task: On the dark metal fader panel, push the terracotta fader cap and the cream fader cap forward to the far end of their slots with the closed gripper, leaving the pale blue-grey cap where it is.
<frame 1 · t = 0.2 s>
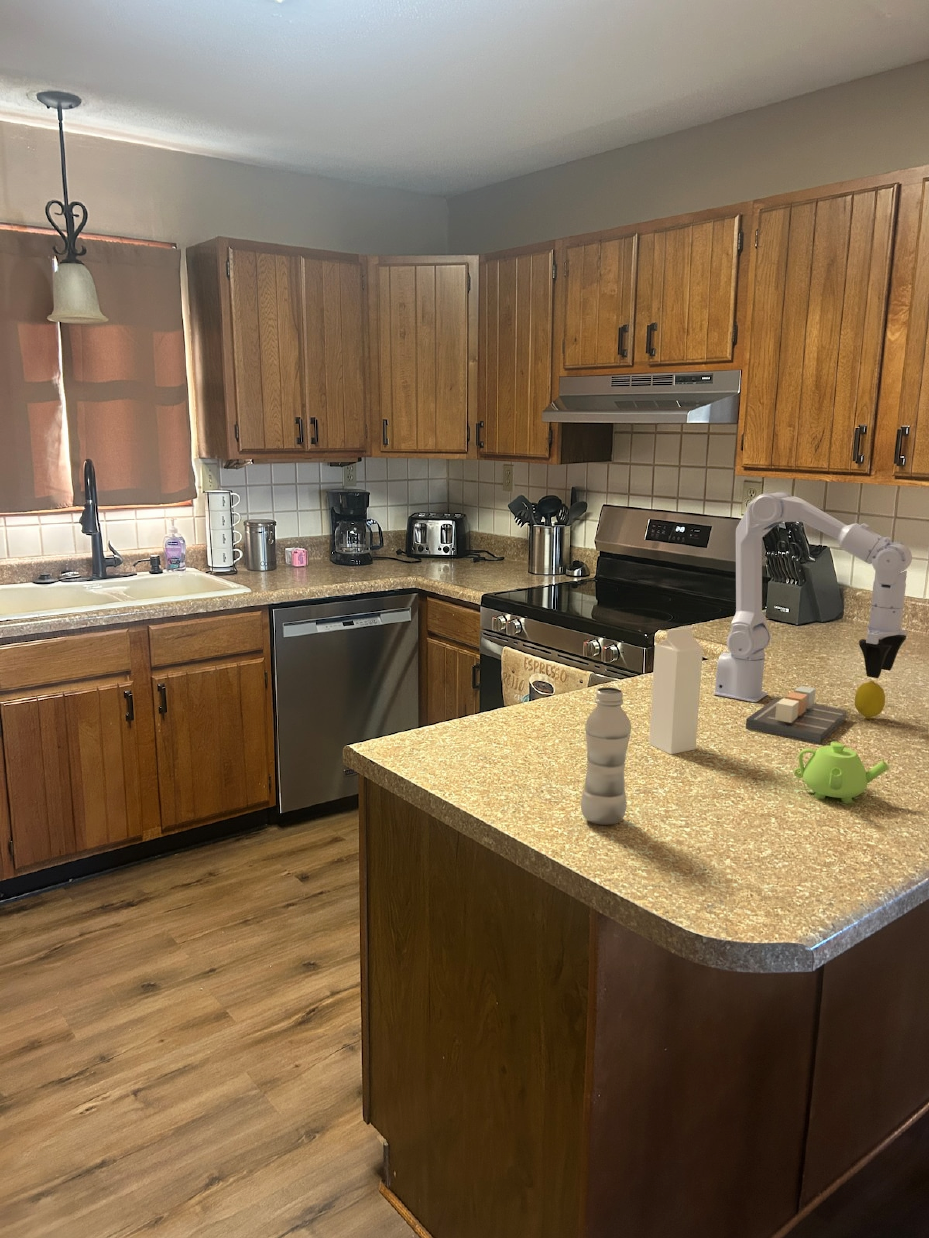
hand: (878, 673, 179), 10 cm above the counter, tool pointing down, fingers open, 7 cm apart
milk: (672, 747, 165), on the counter
lemon: (867, 720, 182), on the counter
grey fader: (804, 697, 182), point 4 cm above the counter, slide at 0.0 cm
terracotta fader: (795, 703, 178), point 4 cm above the counter, slide at 0.0 cm
panel: (796, 724, 178), on the counter
teapot: (838, 796, 144), on the counter
plastic bottle: (602, 822, 133), on the counter
cream fader: (787, 710, 173), point 4 cm above the counter, slide at 0.0 cm
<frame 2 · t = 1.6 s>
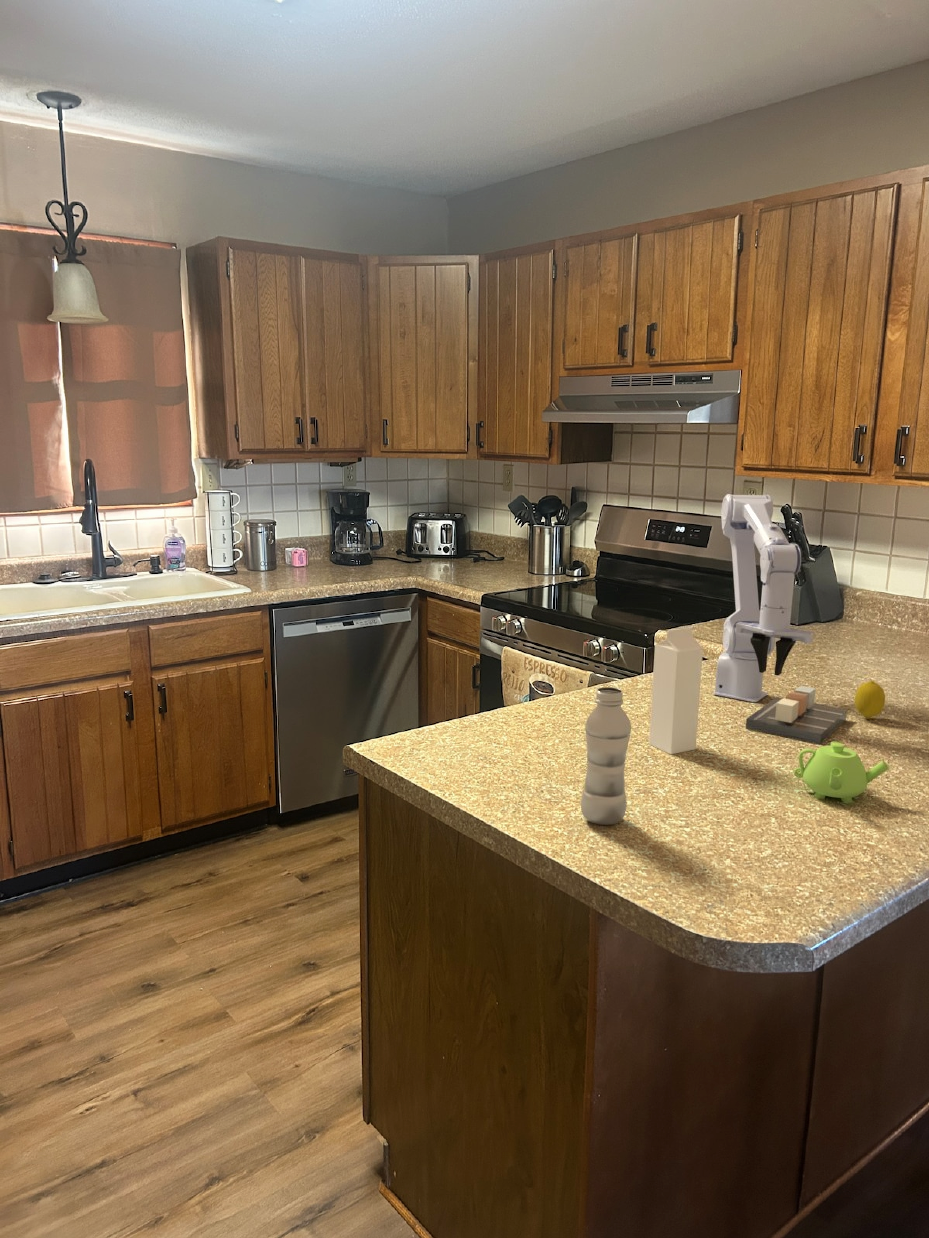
hand: (770, 673, 180), 9 cm above the counter, tool pointing down, fingers closed
nothing on the counter moved.
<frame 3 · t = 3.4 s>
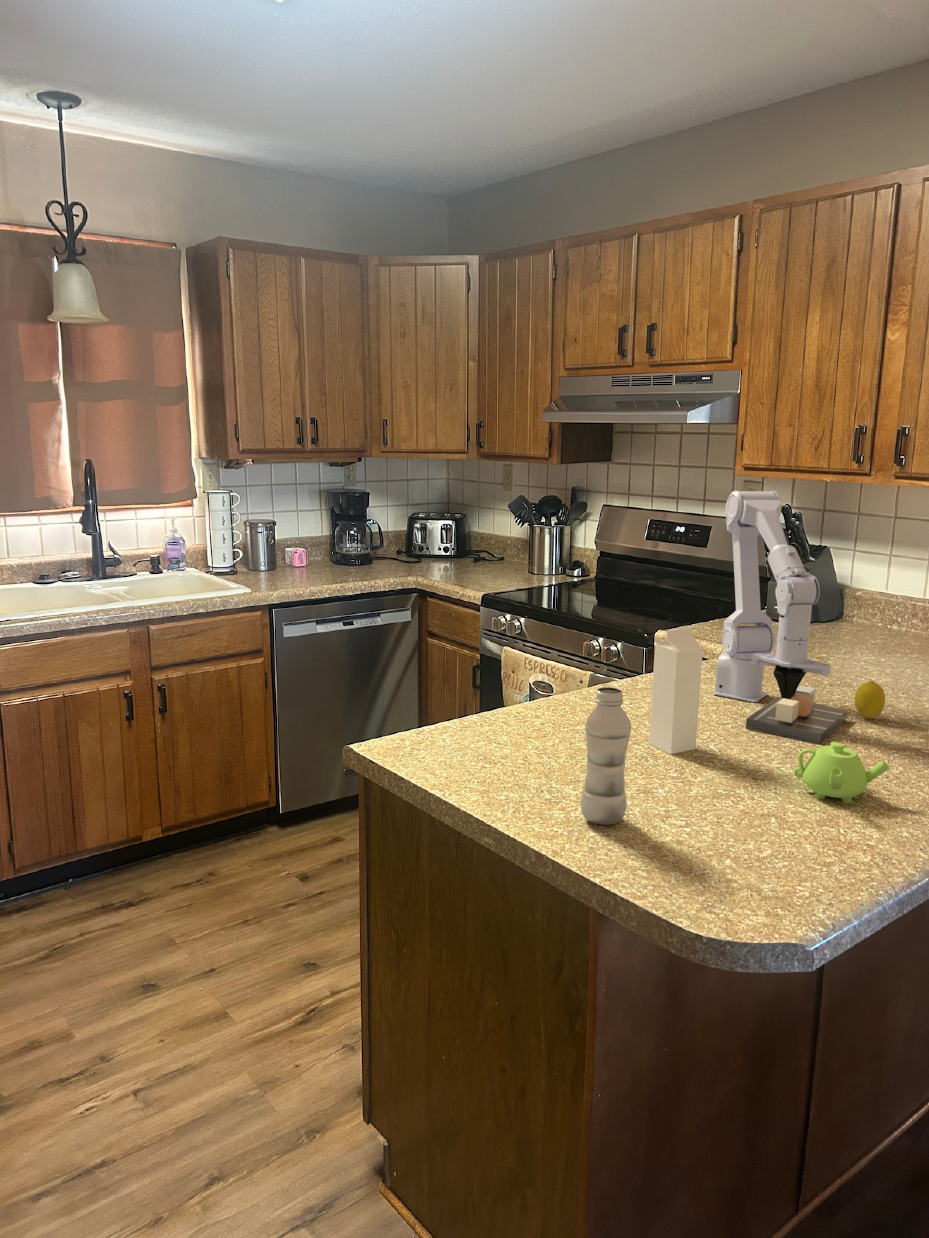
hand: (786, 704, 179), 4 cm above the counter, tool pointing down, fingers closed
terracotta fader: (801, 704, 177), point 4 cm above the counter, slide at 1.1 cm, touching gripper
everything else where it was.
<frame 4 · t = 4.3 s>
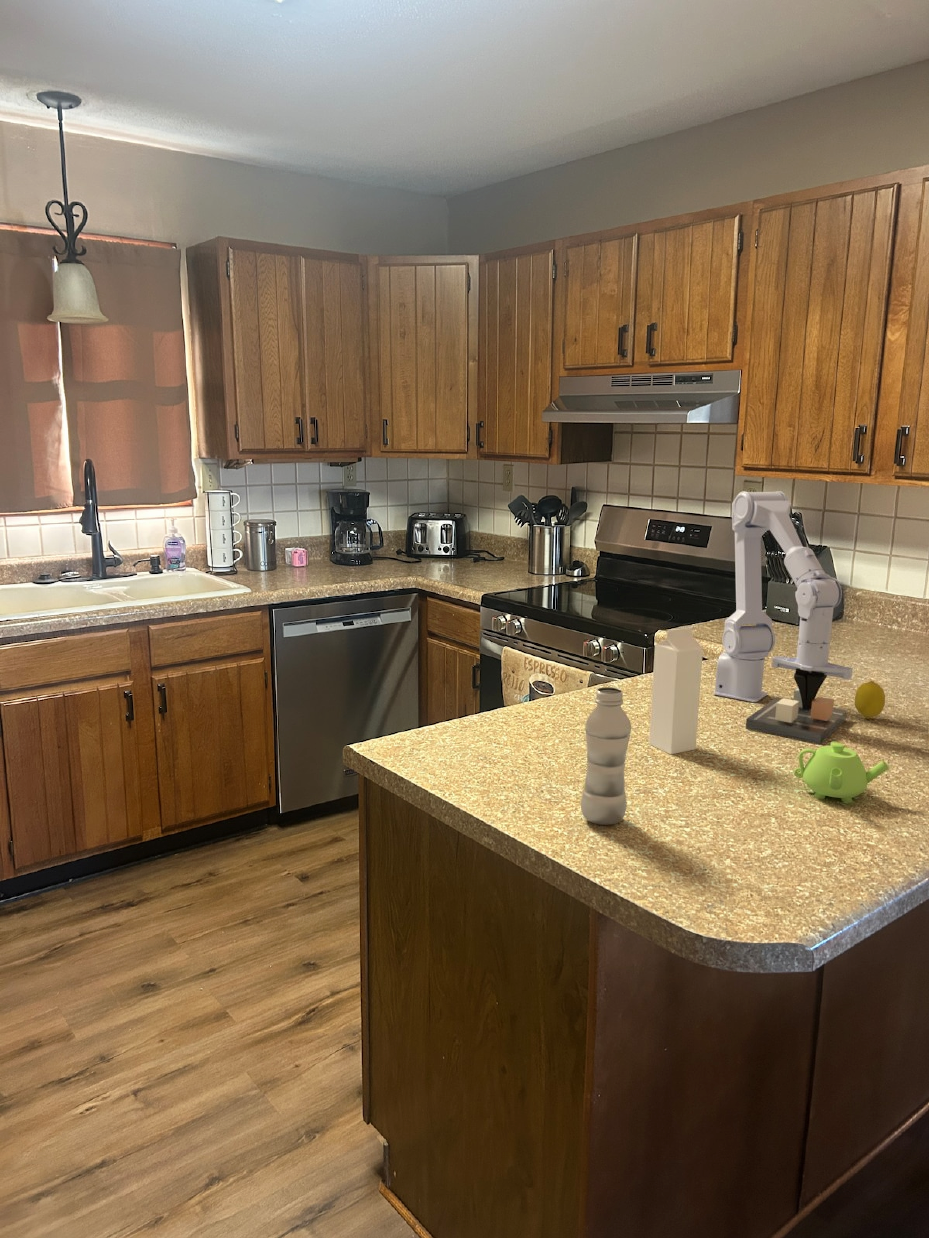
hand: (807, 708, 176), 4 cm above the counter, tool pointing down, fingers closed
terracotta fader: (822, 708, 175), point 4 cm above the counter, slide at 5.0 cm, touching gripper
everything else where it was.
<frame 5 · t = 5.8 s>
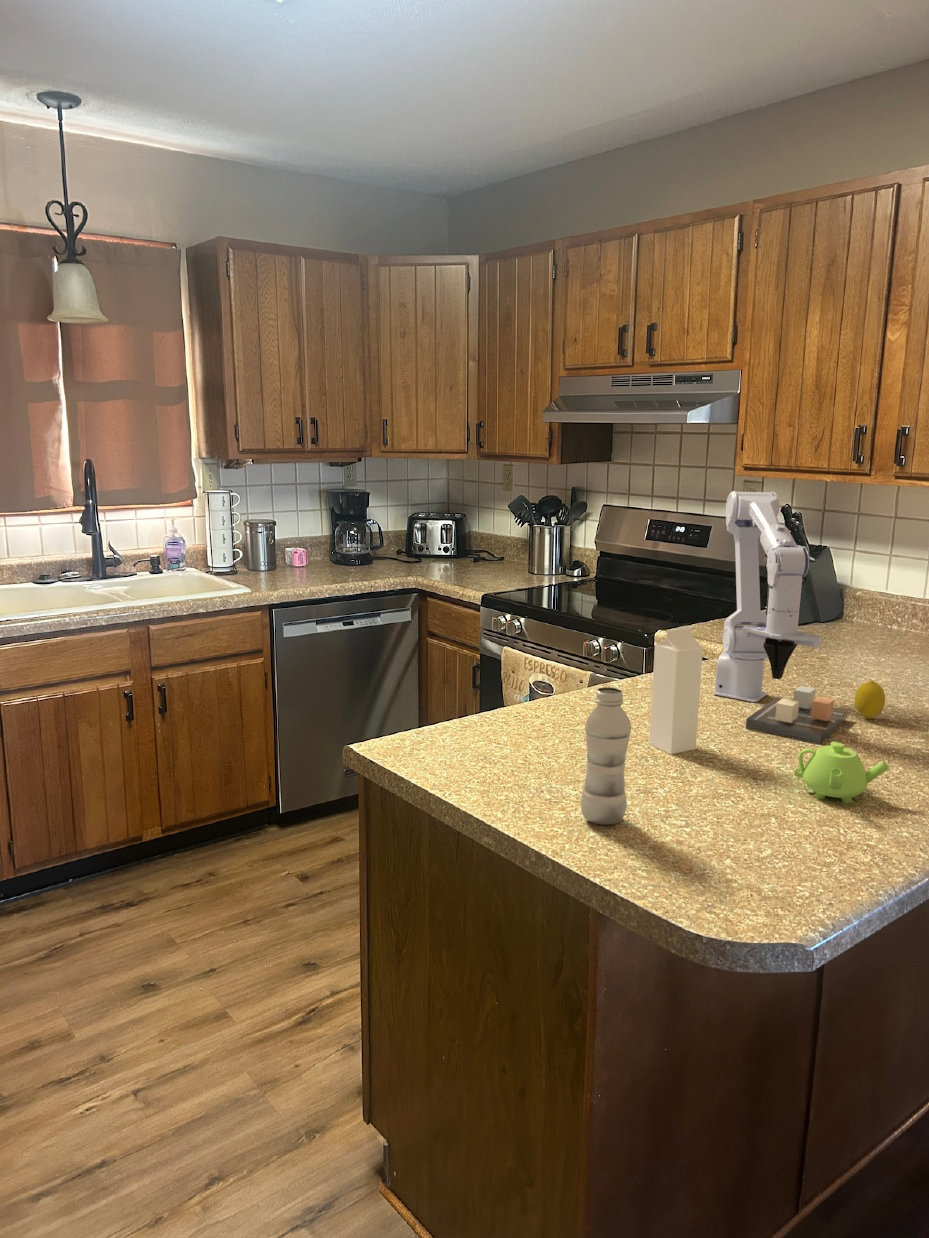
hand: (777, 677, 176), 9 cm above the counter, tool pointing down, fingers closed
terracotta fader: (822, 708, 175), point 4 cm above the counter, slide at 5.1 cm
everything else where it was.
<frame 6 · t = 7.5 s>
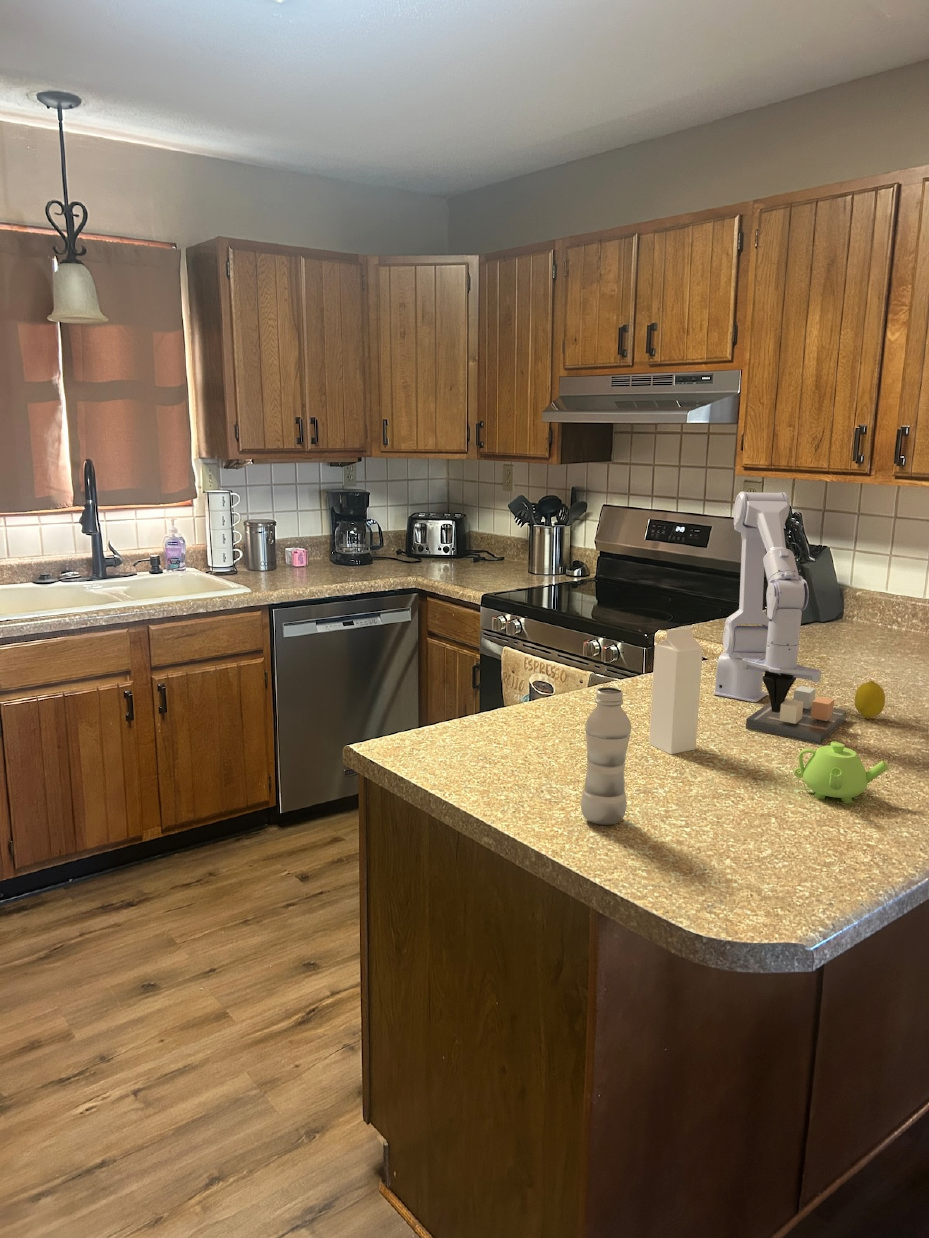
hand: (776, 711, 175), 4 cm above the counter, tool pointing down, fingers closed
cream fader: (791, 711, 173), point 4 cm above the counter, slide at 0.8 cm, touching gripper
everything else where it was.
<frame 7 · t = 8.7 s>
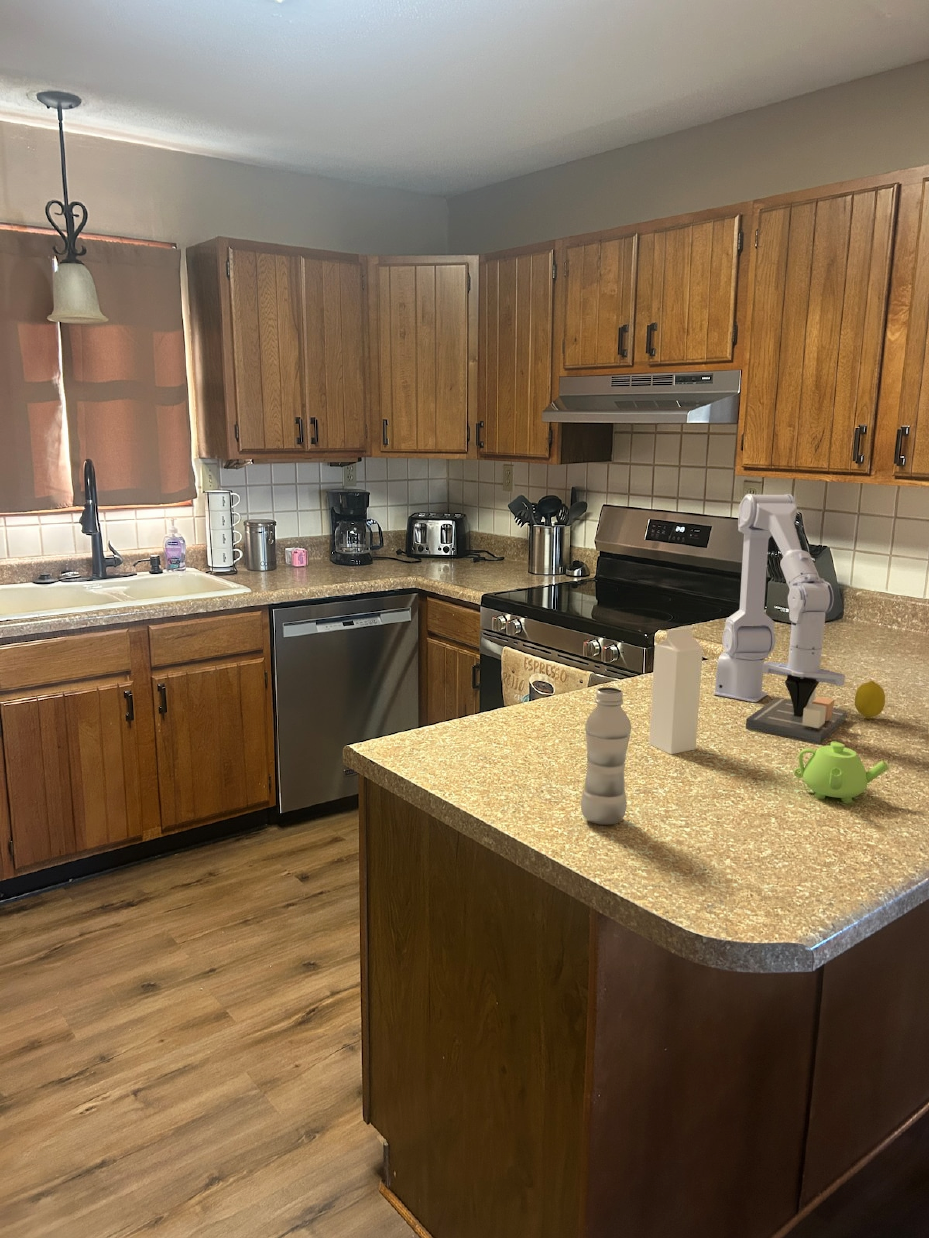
hand: (799, 715, 172), 4 cm above the counter, tool pointing down, fingers closed
cream fader: (814, 715, 170), point 4 cm above the counter, slide at 5.1 cm, touching gripper
everything else where it was.
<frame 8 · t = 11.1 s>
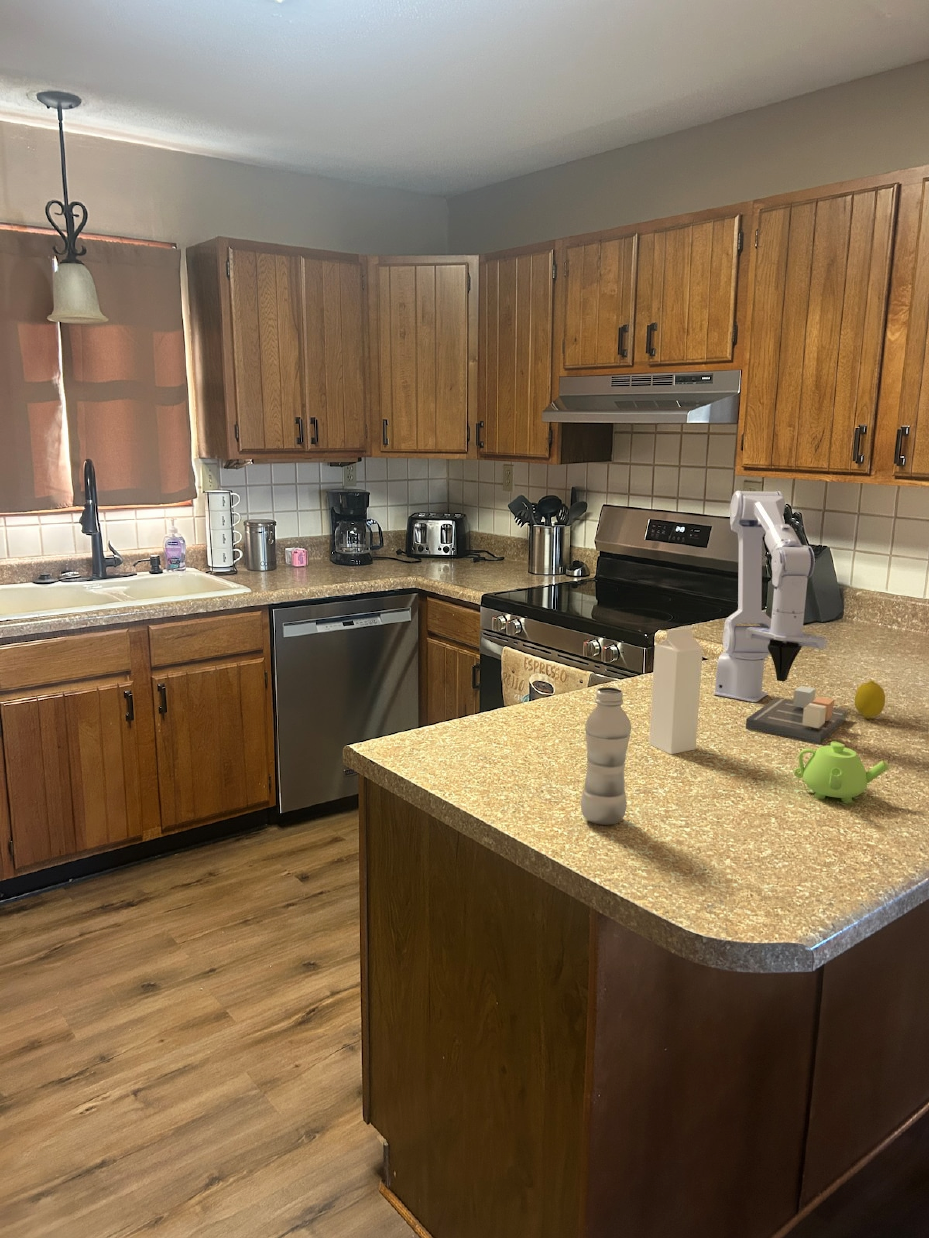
hand: (781, 680, 173), 10 cm above the counter, tool pointing down, fingers closed
cream fader: (814, 715, 170), point 4 cm above the counter, slide at 5.1 cm
everything else where it was.
at the end: terracotta fader slide at 5.1 cm; cream fader slide at 5.1 cm; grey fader slide at 0.0 cm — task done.
